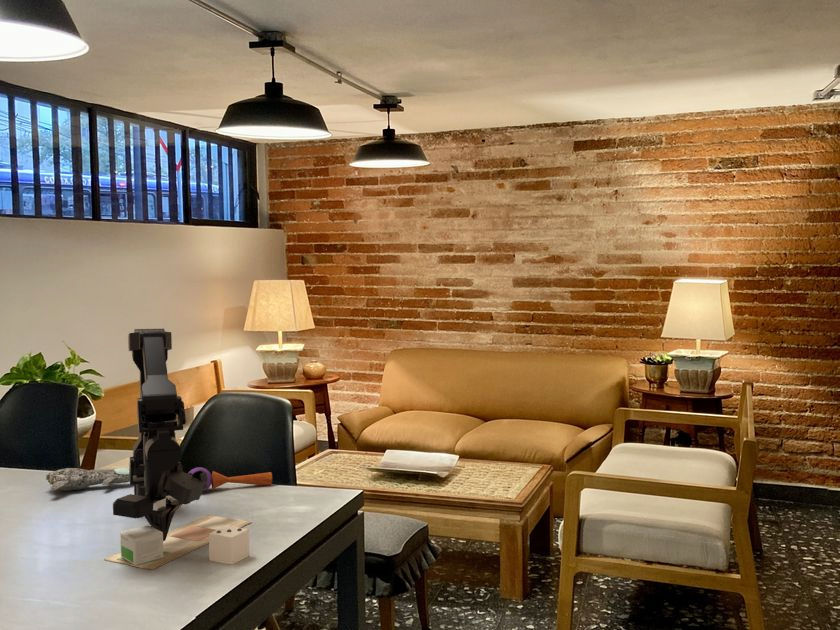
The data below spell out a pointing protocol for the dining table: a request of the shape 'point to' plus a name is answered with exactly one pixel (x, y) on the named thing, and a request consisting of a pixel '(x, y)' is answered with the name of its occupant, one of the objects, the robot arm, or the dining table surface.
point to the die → (228, 544)
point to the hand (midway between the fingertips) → (162, 541)
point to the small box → (141, 544)
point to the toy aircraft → (85, 478)
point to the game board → (185, 539)
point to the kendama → (235, 478)
